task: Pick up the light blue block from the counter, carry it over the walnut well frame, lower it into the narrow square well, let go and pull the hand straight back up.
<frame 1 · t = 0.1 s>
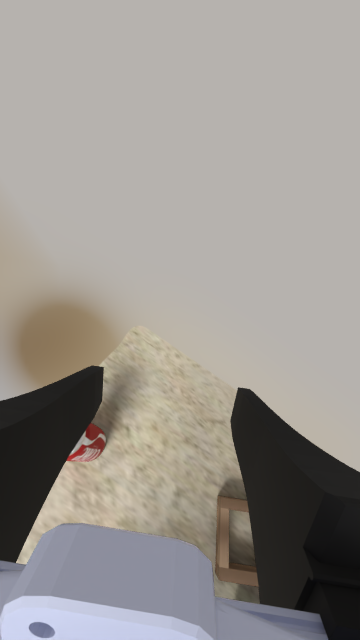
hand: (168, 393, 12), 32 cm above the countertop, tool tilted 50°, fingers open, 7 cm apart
well frame: (244, 535, 33), on the countertop
soda can: (90, 443, 38), on the countertop
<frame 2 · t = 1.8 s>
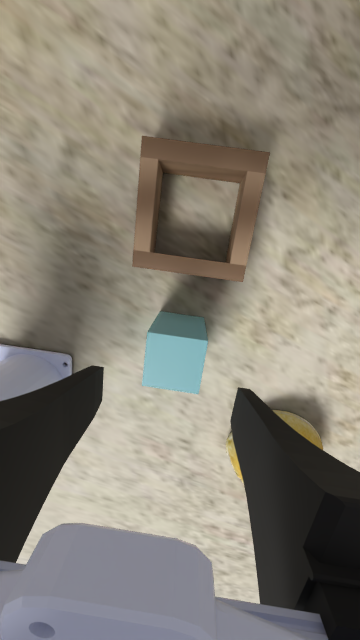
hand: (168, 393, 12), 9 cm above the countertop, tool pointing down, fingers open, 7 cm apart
well frame: (195, 219, 18), on the countertop
light blue block: (179, 334, 21), on the countertop
bread roll: (267, 440, 24), on the countertop
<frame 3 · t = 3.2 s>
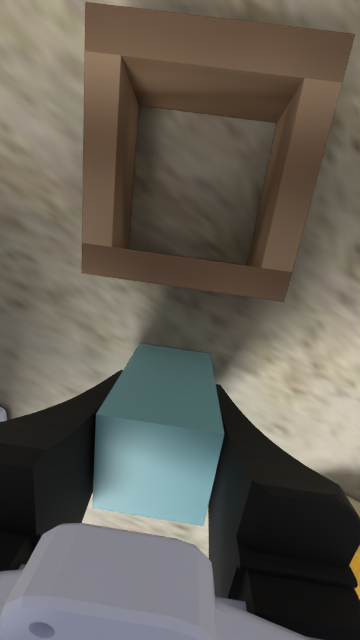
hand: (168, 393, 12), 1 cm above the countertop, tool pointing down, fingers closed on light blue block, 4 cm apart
well frame: (196, 191, 11), on the countertop
light blue block: (170, 379, 13), on the countertop, touching gripper
bread roll: (302, 526, 16), on the countertop
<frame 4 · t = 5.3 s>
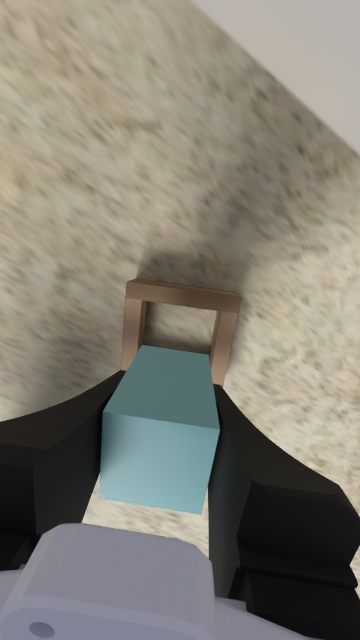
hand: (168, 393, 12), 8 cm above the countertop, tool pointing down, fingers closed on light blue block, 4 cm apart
well frame: (178, 333, 20), on the countertop
light blue block: (171, 379, 14), point 6 cm above the countertop, touching gripper
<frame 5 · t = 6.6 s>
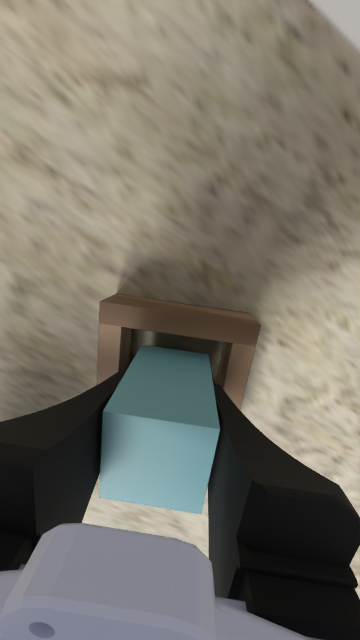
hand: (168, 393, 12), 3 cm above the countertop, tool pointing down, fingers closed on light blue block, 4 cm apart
well frame: (173, 364, 15), on the countertop
light blue block: (171, 379, 14), point 1 cm above the countertop, touching gripper
when the fingers open (3 cm above the countertop, at t = 7.4 s): light blue block drops 1 cm, resting in well frame.
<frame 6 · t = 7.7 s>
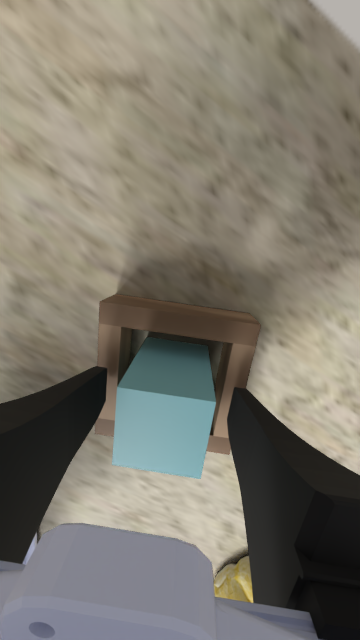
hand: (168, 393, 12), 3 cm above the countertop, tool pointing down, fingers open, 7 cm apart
well frame: (173, 364, 15), on the countertop
light blue block: (173, 368, 15), resting in well frame
bread roll: (260, 577, 21), on the countertop
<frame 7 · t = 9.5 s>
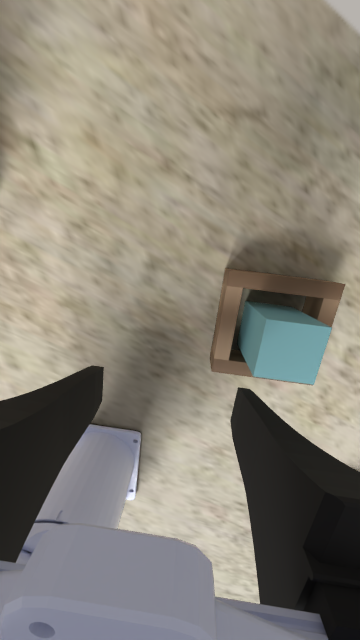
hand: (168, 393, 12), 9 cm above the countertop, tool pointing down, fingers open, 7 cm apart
well frame: (264, 322, 20), on the countertop
light blue block: (263, 325, 20), resting in well frame
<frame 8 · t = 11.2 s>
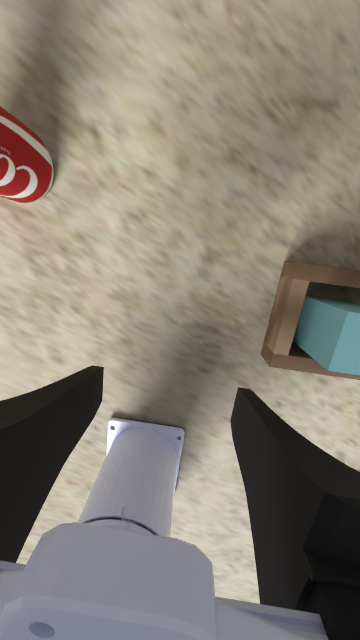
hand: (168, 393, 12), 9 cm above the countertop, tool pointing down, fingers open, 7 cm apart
well frame: (319, 317, 20), on the countertop
light blue block: (318, 320, 20), resting in well frame
soda can: (26, 169, 18), on the countertop
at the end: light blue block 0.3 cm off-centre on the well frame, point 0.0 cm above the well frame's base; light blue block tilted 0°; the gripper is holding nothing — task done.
